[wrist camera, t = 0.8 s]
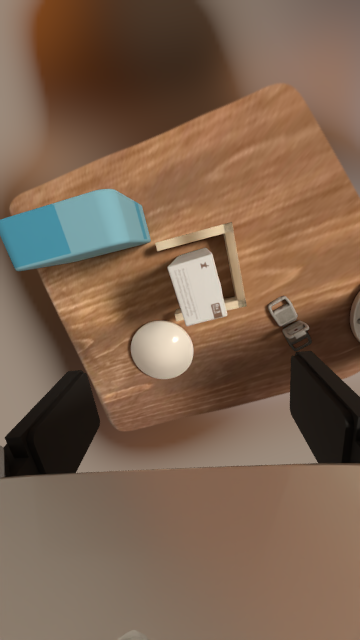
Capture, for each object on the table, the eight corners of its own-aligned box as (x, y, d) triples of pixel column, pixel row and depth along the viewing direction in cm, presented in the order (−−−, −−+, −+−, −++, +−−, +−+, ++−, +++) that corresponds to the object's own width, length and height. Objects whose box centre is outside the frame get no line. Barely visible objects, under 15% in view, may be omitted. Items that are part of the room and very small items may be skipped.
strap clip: (264, 304, 33) (273, 313, 29) (284, 293, 33) (296, 300, 29) (292, 351, 35) (304, 365, 31) (312, 341, 34) (326, 354, 30)
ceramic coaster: (185, 313, 34) (184, 315, 34) (199, 370, 37) (199, 373, 36) (124, 327, 36) (122, 329, 35) (142, 380, 39) (141, 383, 38)
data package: (144, 205, 30) (109, 184, 19) (153, 241, 32) (126, 242, 20) (61, 229, 32) (-15, 223, 21) (73, 262, 34) (7, 273, 22)
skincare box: (176, 256, 32) (161, 264, 21) (208, 246, 31) (211, 249, 20) (188, 299, 34) (181, 328, 22) (219, 290, 33) (228, 316, 22)
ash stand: (229, 223, 30) (231, 222, 28) (243, 301, 33) (246, 306, 31) (158, 242, 32) (155, 243, 29) (178, 315, 35) (176, 321, 32)
